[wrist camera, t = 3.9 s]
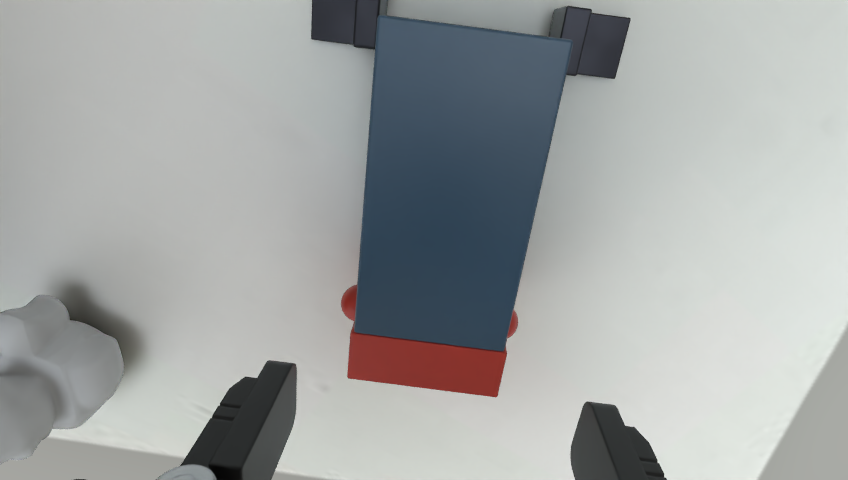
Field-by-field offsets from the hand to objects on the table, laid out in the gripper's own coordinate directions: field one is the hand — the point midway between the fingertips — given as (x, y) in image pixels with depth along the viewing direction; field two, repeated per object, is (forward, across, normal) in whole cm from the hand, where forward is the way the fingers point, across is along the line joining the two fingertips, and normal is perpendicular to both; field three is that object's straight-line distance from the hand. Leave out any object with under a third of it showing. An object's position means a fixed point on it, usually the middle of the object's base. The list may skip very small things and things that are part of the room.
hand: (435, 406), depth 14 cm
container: (+8, 0, -4) cm, 9 cm away
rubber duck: (+8, +16, +6) cm, 19 cm away
